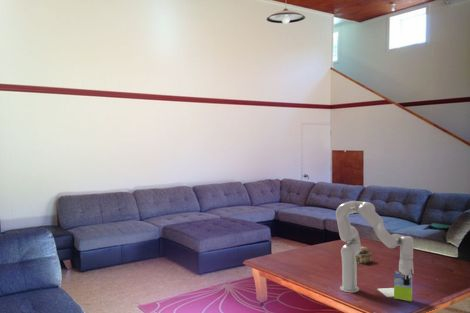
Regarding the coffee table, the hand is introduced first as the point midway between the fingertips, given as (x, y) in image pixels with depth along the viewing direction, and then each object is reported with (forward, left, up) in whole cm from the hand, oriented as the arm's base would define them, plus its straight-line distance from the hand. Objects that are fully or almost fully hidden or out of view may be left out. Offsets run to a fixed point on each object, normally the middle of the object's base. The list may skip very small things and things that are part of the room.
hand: (406, 285), depth 247 cm
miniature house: (-86, +6, -11) cm, 87 cm away
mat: (-16, 0, -11) cm, 20 cm away
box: (-4, 0, -11) cm, 12 cm away
